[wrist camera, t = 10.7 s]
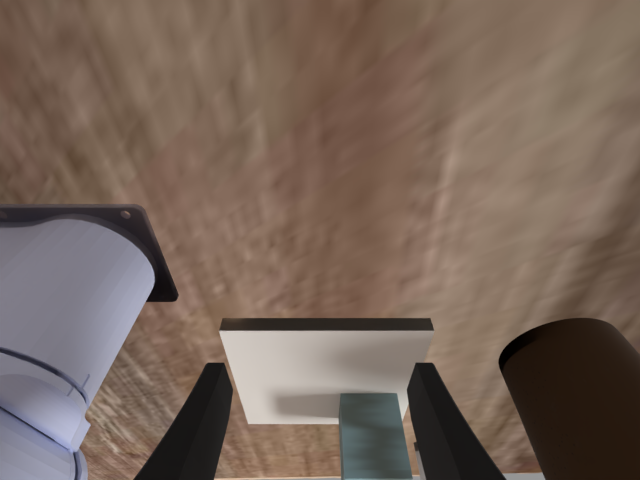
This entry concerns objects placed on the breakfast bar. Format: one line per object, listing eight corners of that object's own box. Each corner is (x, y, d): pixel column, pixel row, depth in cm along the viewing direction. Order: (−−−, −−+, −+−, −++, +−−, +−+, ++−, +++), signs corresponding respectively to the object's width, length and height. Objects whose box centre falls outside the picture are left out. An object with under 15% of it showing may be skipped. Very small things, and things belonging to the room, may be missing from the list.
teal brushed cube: (338, 418, 34) (341, 498, 28) (340, 393, 30) (344, 478, 25) (389, 418, 34) (402, 498, 28) (396, 393, 30) (412, 478, 25)
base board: (250, 412, 35) (248, 424, 34) (222, 318, 25) (218, 331, 24) (399, 412, 35) (401, 424, 34) (430, 318, 25) (434, 331, 24)
